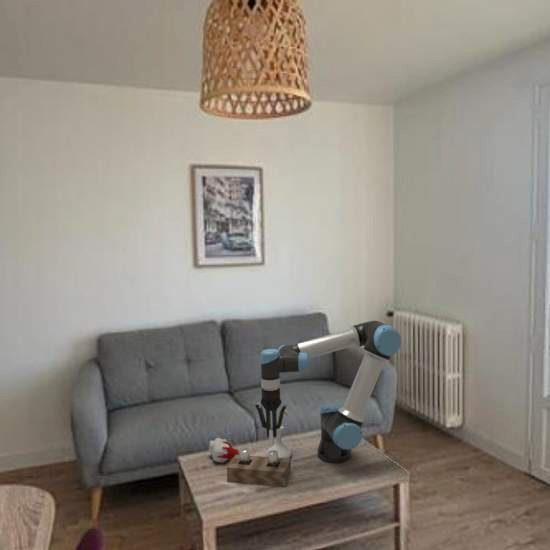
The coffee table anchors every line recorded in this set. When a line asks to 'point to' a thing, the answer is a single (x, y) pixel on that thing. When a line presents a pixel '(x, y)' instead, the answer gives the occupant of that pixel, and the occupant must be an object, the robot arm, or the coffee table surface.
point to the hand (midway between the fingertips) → (272, 444)
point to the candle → (222, 450)
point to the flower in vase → (282, 449)
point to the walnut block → (259, 471)
